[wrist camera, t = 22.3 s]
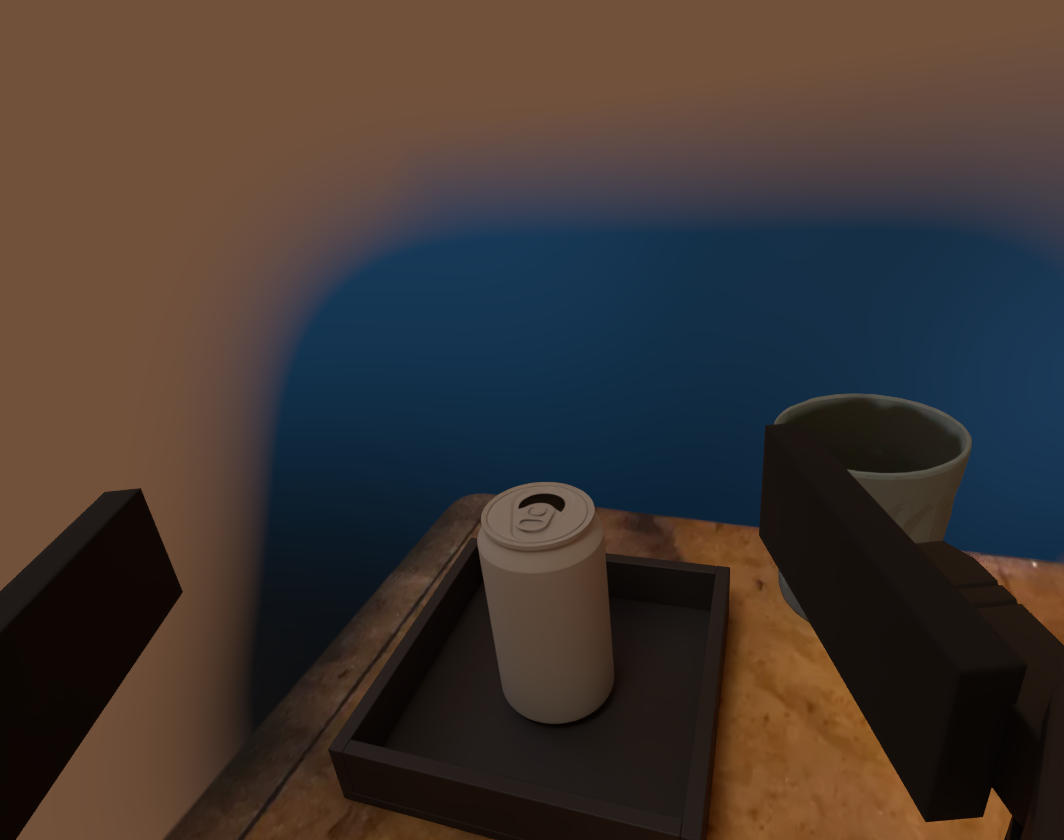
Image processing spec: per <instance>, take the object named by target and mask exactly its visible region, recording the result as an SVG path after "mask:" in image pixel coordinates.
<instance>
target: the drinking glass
mask: <svg viewBox="0 0 1064 840" xmlns="http://www.w3.org/2000/svg"><path fill="white" fill-rule="evenodd" d="M794 422H803V423H804V424H805V425H806V426H807V427H808V428H809V429H810V430H811V431H812V433H813V434H814V435H815V436H816V437H817V438H818V439H819V440H820V441H821V442H822V443H823V444H824V445H825V447H826V448H827V449H828V450H829V451H830V452H831V453H832V454H833V455H834V456H835V457H836V458H837V459H838V461H839V462H840V463H841V464H842V465H843V466H844V467H845V468H846V469H847V470H848V471H849V472H850V473H851V475H852V476H853V477H854V478H855V479H856V480H857V481H858V482H859V483H860V484H861V485H862V486H863V487H864V489H865V490H866V491H867V492H868V493H869V494H870V495H871V496H872V497H873V498H874V499H875V500H876V502H877V503H878V504H879V505H880V506H881V507H882V508H883V509H884V510H885V511H886V512H887V513H888V514H889V516H890V517H891V518H892V519H893V520H894V521H895V522H896V523H897V524H898V525H899V526H900V527H901V528H902V530H903V531H904V532H905V533H906V534H907V535H908V536H909V537H910V538H911V539H912V540H913V541H914V542H915V543H924V542H934V541H942V540H943V538H944V535H945V532H946V528H947V523H948V521H949V519H950V517H951V512H952V505H953V501H954V497H955V494H956V491H957V489H958V487H959V485H960V482H961V480H962V477H963V473H964V470H965V467H966V464H967V461H968V458H969V455H970V451H971V445H972V439H971V436H970V434H969V433H968V431H967V430H966V429H965V427H964V426H963V425H962V424H961V423H959V422H958V421H957V420H955V419H954V418H952V417H951V416H949V415H947V414H946V413H944V412H942V411H939V410H938V409H935V408H932V407H930V406H927V405H923V404H921V403H917V402H913V401H909V400H905V399H901V398H896V397H889V396H882V395H875V394H874V395H873V394H837V395H829V396H822V397H818V398H812V399H810V400H807V401H805V402H802V403H799V404H796V405H794V406H791V407H789V408H787V409H786V410H784V412H782V413H781V414H780V415H779V416H778V418H777V419H776V421H775V423H774V425H775V424H784V423H794ZM779 585H780V588H781V591H782V594H783V596H784V598H785V600H786V602H787V603H788V604H789V605H790V607H791V608H792V609H793V610H794V611H795V612H796V613H797V614H799V615H800V616H801V617H802V618H804V619H805V620H807V621H809V620H808V619H807V617H806V615H805V613H804V612H803V610H802V608H801V607H800V605H799V603H798V601H797V600H796V598H795V596H794V595H793V593H792V591H791V589H790V588H789V586H788V584H787V582H786V581H785V579H784V577H783V576H782V574H781V572H780V570H779Z"/></svg>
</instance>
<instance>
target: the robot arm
mask: <svg viewBox="0 0 1064 840" xmlns="http://www.w3.org/2000/svg"><path fill="white" fill-rule="evenodd" d="M759 536H760V538H761V539H762V541H763V543H764V545H765V546H766V548H767V550H768V551H769V553H770V555H771V557H772V558H773V560H774V562H775V564H776V565H777V567H778V569H779V570H780V572H781V574H782V576H783V577H784V579H785V581H786V582H787V584H788V586H789V588H790V589H791V591H792V593H793V595H794V596H795V598H796V600H797V601H798V603H799V605H800V607H801V608H802V610H803V612H804V613H805V615H806V617H807V619H808V620H809V622H810V624H811V626H812V627H813V629H814V631H815V632H816V634H817V636H818V638H819V639H820V641H821V643H822V644H823V646H824V648H825V650H826V651H827V653H828V655H829V657H830V658H831V660H832V662H833V663H834V665H835V667H836V669H837V670H838V672H839V674H840V675H841V677H842V679H843V681H844V682H845V684H846V686H847V688H848V689H849V691H850V693H851V694H852V696H853V698H854V700H855V701H856V703H857V705H858V706H859V708H860V710H861V712H862V713H863V715H864V717H865V719H866V720H867V722H868V724H869V725H870V727H871V729H872V731H873V732H874V734H875V736H876V737H877V739H878V741H879V743H880V744H881V746H882V748H883V750H884V751H885V753H886V755H887V756H888V758H889V760H890V762H891V763H892V765H893V767H894V768H895V770H896V772H897V774H898V775H899V777H900V779H901V781H902V782H903V784H904V786H905V787H906V789H907V791H908V793H909V794H910V796H911V798H912V799H913V801H914V803H915V805H916V806H917V808H918V810H919V812H920V813H921V815H922V817H923V818H924V820H925V822H933V821H944V820H955V819H966V818H977V817H983V815H984V811H985V808H986V805H987V801H988V798H989V794H990V791H991V788H993V789H994V790H995V792H996V793H997V795H998V796H999V797H1000V799H1001V800H1002V802H1003V803H1004V805H1005V806H1006V807H1007V809H1008V810H1009V812H1010V813H1011V814H1012V818H1011V821H1010V824H1009V827H1008V830H1007V833H1006V836H1005V839H1004V840H1064V645H1063V644H1062V643H1061V642H1060V641H1059V640H1058V639H1057V638H1056V637H1055V636H1054V635H1053V634H1052V633H1050V632H1049V631H1048V630H1047V629H1046V628H1045V627H1044V626H1043V625H1042V624H1041V623H1040V622H1039V621H1038V620H1037V619H1036V618H1035V617H1034V616H1033V615H1032V614H1031V613H1030V612H1029V611H1028V610H1027V609H1026V608H1025V607H1024V606H1023V605H1022V604H1017V601H1016V598H1015V597H1014V596H1012V595H1011V594H1010V593H1009V592H1008V591H1007V590H1006V589H1005V588H1004V587H1003V586H1002V585H1000V586H999V585H998V583H997V580H996V579H995V578H994V577H993V576H992V575H991V574H990V573H989V572H988V571H987V570H986V569H985V568H984V567H983V566H982V565H981V564H980V563H979V562H978V561H977V560H975V559H974V558H973V557H971V556H969V555H967V554H965V553H964V552H962V551H960V550H958V549H956V548H955V547H953V546H951V545H949V544H947V543H946V542H944V541H934V542H924V543H915V542H914V541H913V540H912V539H911V538H910V537H909V536H908V535H907V534H906V533H905V532H904V531H903V530H902V528H901V527H900V526H899V525H898V524H897V523H896V522H895V521H894V520H893V519H892V518H891V517H890V516H889V514H888V513H887V512H886V511H885V510H884V509H883V508H882V507H881V506H880V505H879V504H878V503H877V502H876V500H875V499H874V498H873V497H872V496H871V495H870V494H869V493H868V492H867V491H866V490H865V489H864V487H863V486H862V485H861V484H860V483H859V482H858V481H857V480H856V479H855V478H854V477H853V476H852V475H851V473H850V472H849V471H848V470H847V469H846V468H845V467H844V466H843V465H842V464H841V463H840V462H839V461H838V459H837V458H836V457H835V456H834V455H833V454H832V453H831V452H830V451H829V450H828V449H827V448H826V447H825V445H824V444H823V443H822V442H821V441H820V440H819V439H818V438H817V437H816V436H815V435H814V434H813V433H812V431H811V430H810V429H809V428H808V427H807V426H806V425H805V424H804V423H803V422H794V423H784V424H775V425H766V426H765V442H764V460H763V477H762V494H761V511H760V529H759ZM182 592H183V591H182V589H181V587H180V584H179V581H178V579H177V577H176V574H175V572H174V569H173V567H172V564H171V562H170V559H169V557H168V554H167V552H166V550H165V547H164V545H163V542H162V540H161V537H160V535H159V532H158V530H157V527H156V525H155V523H154V520H153V518H152V515H151V513H150V510H149V508H148V505H147V503H146V501H145V498H144V495H143V493H142V490H141V489H130V490H120V491H110V492H104V493H103V494H102V495H101V496H100V497H99V498H98V499H97V500H96V501H95V502H94V503H93V504H92V505H91V506H90V507H88V508H87V509H86V511H84V512H83V513H82V514H81V515H80V516H79V517H78V518H77V519H76V520H75V521H74V522H73V523H72V524H71V525H70V526H68V527H67V528H66V529H65V530H64V531H63V532H62V533H61V534H60V535H59V536H58V537H57V538H56V539H55V540H54V541H53V542H52V543H51V544H50V545H49V546H47V548H45V549H44V550H43V551H42V552H41V553H40V554H39V555H38V556H37V557H36V558H35V559H34V560H33V561H32V562H31V563H30V564H29V565H27V567H25V568H24V569H23V570H22V571H21V572H20V573H19V574H18V575H17V576H16V577H15V578H14V579H13V580H12V581H11V582H10V583H9V584H7V586H5V587H4V588H3V589H2V590H1V591H0V840H16V838H17V837H18V836H19V834H20V833H21V831H22V830H23V828H24V827H25V825H26V824H27V822H28V821H29V819H30V818H31V816H32V815H33V813H34V812H35V810H36V809H37V807H38V806H39V804H40V803H41V801H42V800H43V798H44V797H45V796H46V794H47V793H48V791H49V790H50V788H51V787H52V785H53V784H54V782H55V780H56V779H57V778H58V776H59V775H60V773H61V772H62V770H63V769H64V767H65V766H66V764H67V763H68V761H69V760H70V758H71V757H72V755H73V754H74V752H75V751H76V749H77V748H78V747H79V745H80V743H81V742H82V740H83V739H84V738H85V736H86V735H87V733H88V732H89V730H90V729H91V727H92V726H93V724H94V723H95V721H96V720H97V718H98V717H99V715H100V714H101V713H102V711H103V710H104V708H105V707H106V705H107V704H108V702H109V701H110V699H111V698H112V696H113V695H114V693H115V692H116V690H117V689H118V687H119V686H120V684H121V683H122V681H123V680H124V678H125V677H126V675H127V674H128V672H129V671H130V669H131V668H132V666H133V665H134V664H135V662H136V661H137V659H138V658H139V656H140V655H141V653H142V652H143V650H144V649H145V647H146V646H147V644H148V643H149V641H150V640H151V638H152V637H153V635H154V634H155V632H156V631H157V629H158V628H159V626H160V625H161V624H162V622H163V621H164V619H165V618H166V616H167V615H168V613H169V611H170V610H171V608H172V607H173V606H174V604H175V603H176V601H177V600H178V598H179V597H180V595H181V594H182Z"/></svg>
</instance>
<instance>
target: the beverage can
mask: <svg viewBox="0 0 1064 840" xmlns="http://www.w3.org/2000/svg"><path fill="white" fill-rule="evenodd" d="M481 523H482V527H481V529H480V531H479V533H478V538H477V545H478V550H479V556H480V562H481V568H482V574H483V579H484V585H485V591H486V597H487V602H488V608H489V614H490V620H491V626H492V631H493V637H494V643H495V649H496V654H497V660H498V666H499V672H500V678H501V683H502V689H503V692H504V695H505V697H506V699H507V701H508V702H509V704H510V705H511V706H512V707H513V708H514V709H515V710H516V711H517V712H518V713H520V714H521V715H523V716H524V717H526V718H528V719H531V720H533V721H537V722H540V723H547V724H563V723H569V722H573V721H576V720H579V719H582V718H584V717H586V716H588V715H590V714H591V713H593V712H594V711H596V710H597V709H598V708H599V707H600V706H601V705H602V704H603V703H604V702H605V701H606V699H607V698H608V696H609V694H610V692H611V690H612V687H613V683H614V664H613V651H612V637H611V623H610V610H609V596H608V582H607V569H606V555H605V541H604V528H603V524H602V521H601V519H600V518H599V516H598V515H597V514H596V513H595V510H594V504H593V501H592V500H591V498H590V497H589V496H588V495H587V494H586V493H585V492H583V491H582V490H580V489H578V488H575V487H573V486H570V485H567V484H562V483H555V482H538V483H530V484H525V485H521V486H517V487H514V488H511V489H509V490H507V491H505V492H502V493H501V494H499V495H497V496H496V497H494V498H493V499H492V500H491V501H490V502H489V503H488V504H487V505H486V507H485V508H484V510H483V512H482V516H481Z"/></svg>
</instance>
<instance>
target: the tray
mask: <svg viewBox="0 0 1064 840" xmlns="http://www.w3.org/2000/svg"><path fill="white" fill-rule="evenodd" d="M605 555H606V569H607V582H608V596H609V610H610V623H611V637H612V651H613V664H614V683H613V687H612V690H611V692H610V694H609V696H608V698H607V699H606V701H605V702H604V703H603V704H602V705H601V706H600V707H599V708H598V709H597V710H596V711H594V712H593V713H591V714H590V715H588V716H586V717H584V718H582V719H579V720H576V721H573V722H569V723H563V724H547V723H540V722H537V721H533V720H531V719H528V718H526V717H524V716H523V715H521V714H520V713H518V712H517V711H516V710H515V709H514V708H513V707H512V706H511V705H510V704H509V702H508V701H507V699H506V697H505V695H504V692H503V689H502V683H501V678H500V672H499V666H498V660H497V654H496V649H495V643H494V637H493V631H492V626H491V620H490V614H489V608H488V602H487V597H486V591H485V585H484V579H483V574H482V568H481V562H480V556H479V550H478V545H477V539H476V538H471V539H470V540H469V542H468V543H467V545H466V546H465V548H464V549H463V550H462V552H461V553H460V555H459V556H458V558H457V559H456V561H455V562H454V564H453V565H452V567H451V568H450V570H449V571H448V573H447V574H446V576H445V577H444V579H443V580H442V582H441V583H440V584H439V586H438V587H437V589H436V590H435V592H434V593H433V595H432V596H431V598H430V599H429V601H428V602H427V604H426V605H425V607H424V608H423V610H422V611H421V613H420V614H419V616H418V617H417V618H416V620H415V621H414V623H413V624H412V626H411V627H410V629H409V630H408V632H407V633H406V635H405V636H404V638H403V639H402V641H401V642H400V644H399V645H398V647H397V648H396V650H395V651H394V652H393V654H392V655H391V657H390V658H389V660H388V661H387V663H386V664H385V666H384V667H383V669H382V670H381V672H380V673H379V675H378V676H377V678H376V679H375V681H374V682H373V684H372V685H371V686H370V688H369V689H368V691H367V692H366V694H365V695H364V697H363V698H362V700H361V701H360V703H359V704H358V706H357V707H356V709H355V710H354V712H353V713H352V715H351V716H350V718H349V719H348V720H347V722H346V723H345V725H344V726H343V728H342V729H341V731H340V732H339V734H338V735H337V737H336V738H335V740H334V741H333V743H332V744H331V746H330V747H329V749H328V750H329V753H330V756H331V759H332V762H333V765H334V768H335V771H336V774H337V777H338V780H339V783H340V786H341V789H342V791H343V794H344V797H345V798H348V799H351V800H355V801H358V802H362V803H366V804H369V805H373V806H377V807H380V808H384V809H388V810H391V811H395V812H399V813H402V814H406V815H410V816H413V817H417V818H420V819H424V820H428V821H431V822H435V823H439V824H442V825H446V826H450V827H453V828H457V829H461V830H464V831H468V832H471V833H475V834H479V835H482V836H486V837H490V838H493V839H497V840H706V836H707V826H708V816H709V806H710V796H711V786H712V776H713V766H714V756H715V746H716V736H717V726H718V716H719V705H720V695H721V685H722V675H723V665H724V655H725V645H726V635H727V625H728V615H729V586H730V568H729V567H722V566H717V567H716V566H712V565H703V564H694V563H686V562H677V561H668V560H659V559H651V558H642V557H633V556H624V555H616V554H607V553H605Z"/></svg>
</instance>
